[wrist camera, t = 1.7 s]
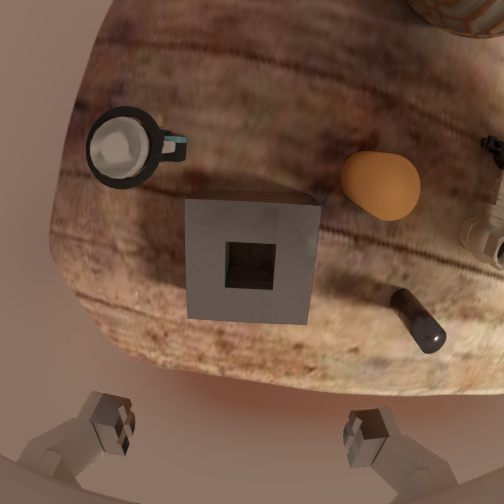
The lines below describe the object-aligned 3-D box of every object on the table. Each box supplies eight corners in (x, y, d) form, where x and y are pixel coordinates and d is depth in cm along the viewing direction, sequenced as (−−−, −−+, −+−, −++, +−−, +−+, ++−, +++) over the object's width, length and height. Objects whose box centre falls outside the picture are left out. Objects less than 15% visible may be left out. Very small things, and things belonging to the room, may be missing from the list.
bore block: (310, 195, 28) (321, 206, 23) (300, 297, 31) (306, 324, 27) (197, 189, 28) (184, 199, 23) (197, 292, 31) (187, 318, 27)
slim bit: (414, 288, 31) (449, 327, 23) (408, 310, 32) (440, 352, 24) (393, 288, 31) (426, 329, 23) (388, 310, 32) (417, 354, 24)
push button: (119, 172, 28) (61, 188, 18) (123, 115, 26) (65, 107, 16) (188, 176, 28) (153, 194, 18) (193, 117, 26) (160, 104, 17)
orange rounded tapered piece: (393, 154, 27) (423, 158, 21) (387, 207, 28) (415, 223, 23) (342, 147, 27) (363, 149, 21) (337, 202, 28) (356, 218, 23)
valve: (483, 255, 30) (509, 155, 26) (518, 278, 23) (549, 162, 20) (442, 244, 29) (470, 134, 25) (477, 267, 23) (510, 136, 19)
